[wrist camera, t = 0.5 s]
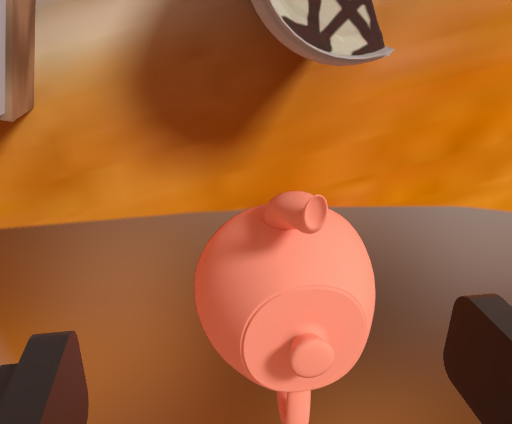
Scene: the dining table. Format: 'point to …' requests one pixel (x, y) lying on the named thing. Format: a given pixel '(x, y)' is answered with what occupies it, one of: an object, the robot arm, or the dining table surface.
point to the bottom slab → (19, 58)
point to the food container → (325, 29)
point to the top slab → (2, 54)
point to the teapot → (287, 297)
